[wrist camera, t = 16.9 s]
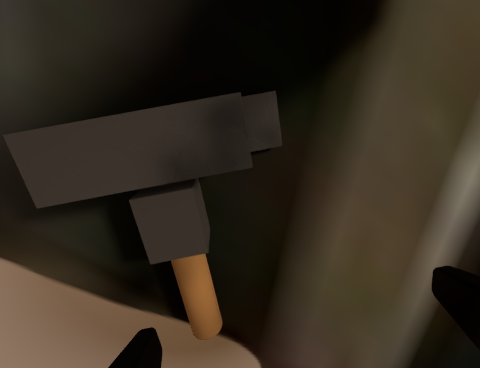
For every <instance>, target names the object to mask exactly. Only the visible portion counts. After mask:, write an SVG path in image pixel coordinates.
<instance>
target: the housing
mask: <svg viewBox="0 0 480 368" xmlns="http://www.w3.org/2000/svg"><path fill="white" fill-rule="evenodd" d="M3 137H4V139H5V142H6V144H7V146H8V148H9V150H10V152H11V154H12V157H13V159H14V161H15V163H16V165H17V167H18V169H19V172H20V174H21V176H22V178H23V180H24V182H25V184H26V187H27V189H28V191H29V193H30V195H31V197H32V199H33V202H34V204H35V206H36V208H43V207H48V206H53V205H58V204H64V203H69V202H74V201H79V200H85V199H90V198H95V197H100V196H106V195H111V194H116V193H121V192H127V191H132V190H137V189H142V188H147V187H153V186H158V185H163V184H168V183H174V182H179V181H184V180H189V179H195V178H200V177H205V176H210V175H216V174H221V173H226V172H231V171H237V170H242V169H247V168H252V167H253V165H252V159H251V153H250V152H253V151H258V150H263V149H268V148H274V147H279V146H282V139H281V131H280V123H279V114H278V106H277V98H276V91H271V92H266V93H260V94H255V95H249V96H244V97H241V92H238V93H233V94H227V95H222V96H216V97H211V98H205V99H200V100H194V101H188V102H183V103H177V104H172V105H166V106H161V107H155V108H150V109H144V110H139V111H133V112H127V113H122V114H116V115H111V116H105V117H100V118H94V119H89V120H83V121H78V122H72V123H66V124H61V125H55V126H50V127H44V128H39V129H33V130H28V131H22V132H17V133H11V134H5V135H3Z"/></svg>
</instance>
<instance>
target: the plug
mask: <svg viewBox="0 0 480 368" xmlns="http://www.w3.org/2000/svg"><path fill="white" fill-rule="evenodd" d="M129 202H130V205H131V208H132V211H133V214H134V217H135V220H136V223H137V226H138V229H139V232H140V235H141V238H142V241H143V244H144V247H145V250H146V253H147V256H148V259H149V262H150V264H155V263H160V262H165V261H170V260H171V263H172V266H173V269H174V273H175V276H176V279H177V282H178V286H179V289H180V292H181V296H182V299H183V302H184V306H185V309H186V312H187V315H188V319H189V322H190V325H191V328H192V332H193V335H194V336H195V337H196V338H197V339H200V340H207V339H210V338H212V337H214V336H215V335H216V334H217V333H218V332H219V331H220V329H221V327H222V318H221V314H220V310H219V306H218V302H217V298H216V294H215V290H214V286H213V282H212V278H211V275H210V271H209V267H208V263H207V259H206V255H205V254H206V253H208V249H209V237H210V226H209V222H208V217H207V213H206V209H205V205H204V200H203V196H202V192H201V188H200V183H199V179H198V178H195V179H189V180H184V181H179V182H174V183H168V184H163V185H158V186H153V187H147V188H142V189H140V190H139V191H138V192H137V193H136V194H135V195H134V196H133V197H132V198H131V199H130V200H129Z"/></svg>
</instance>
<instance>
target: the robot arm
mask: <svg viewBox="0 0 480 368" xmlns="http://www.w3.org/2000/svg"><path fill="white" fill-rule="evenodd" d="M432 292H433V294H434V296H435V297H436V299H437V300H438V301H439V302H440V304H441V305H442V306H443V307H444V308H445V310H446V311H447V312H448V313H449V314H450V316H451V317H452V318H453V319H454V321H455V322H456V323H457V324H458V325H459V327H460V328H461V329H462V330H463V332H464V333H465V334H466V335H467V336H468V338H469V339H470V340H471V341H472V342H473V343H474V345H475V346H476V347H477V348H478V349H479V350H480V276H479V275H476V274H473V273H470V272H467V271H464V270H461V269H458V268H455V267H451V266H443V267H438V268H435V269H434V270H433V277H432ZM161 361H162V347H161V343H160V341H159V338H158V335H157V332H156V330H155V329H154V328H146V329H142V330H140V331H139V332H138V333H137V334H136V335H135V337H134V338H133V339H132V340H131V341H130V342H129V344H128V345H127V346H126V347H125V348H124V350H123V351H122V352H121V353H120V354H119V355H118V357H117V358H116V359H115V360H114V361H113V363H112V364H111V365H110V366H109V367H108V368H161Z"/></svg>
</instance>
